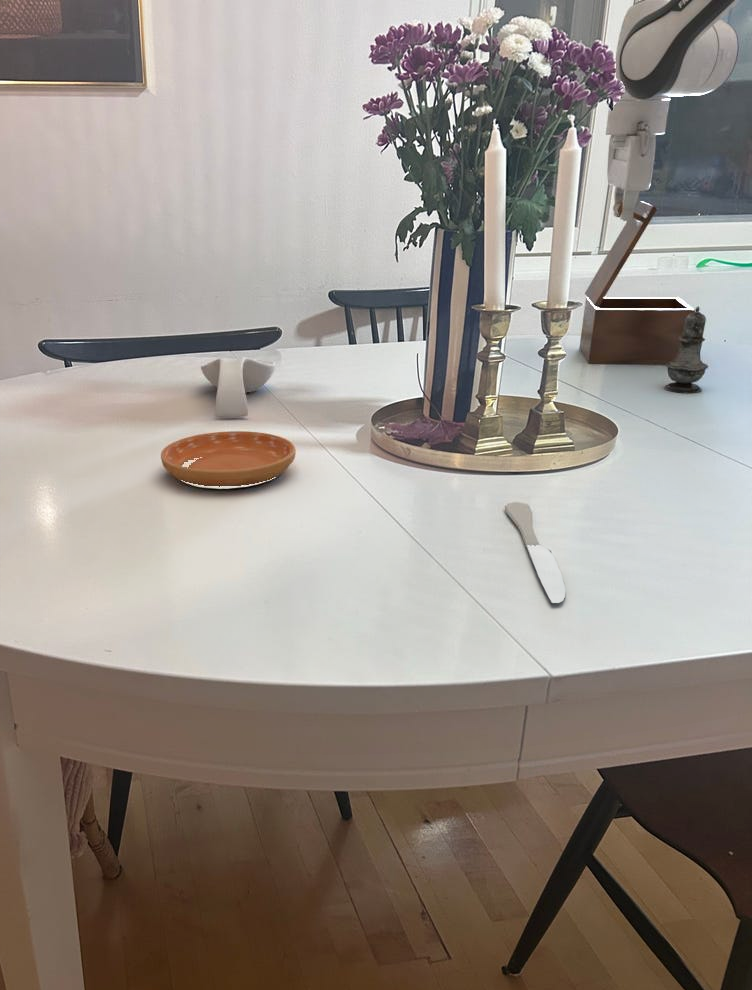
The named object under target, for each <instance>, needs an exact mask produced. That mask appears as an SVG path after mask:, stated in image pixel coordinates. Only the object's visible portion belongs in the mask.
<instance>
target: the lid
mask: <svg viewBox="0 0 752 990" xmlns="http://www.w3.org/2000/svg"><path fill="white" fill-rule="evenodd" d="M622 206H623V202H620V201H619V202H616V203H615V202H614V204H613V207H612V210H613V213H614V212H615V213H617V214H619V215H621V208H622ZM657 210H659V207H657V206H654V205H652V204H650V203H647V202H645V201H642V200H638V201H637V203H636V206H635V209H634V216H633V219H632V220H631V221H625V224H624V226H623V227H622V229H621V231H620V232H619V234H618V236H617V237H616V239H615V241H614V243H613V245H612V246H611V248H610V249H609V251H608V253H607V255H606V256H605V258H604V259H603V262H602V263H601V265H600V266H599V268H598V270H597V272H596V273H595V275H594V277H593V278H592V280H591V281H590V283H589V285H588V287H587V289H586V290H585V293H584V295H585V296H586V297H588V298H589V300H590V301H591V302H592V303H593V305H594V306H596V307H599V305H600V304H601V302H602V300H603V299H604V297H606V295H607V294H608V292H609V290H610V289H611V287H612V286H613V284H614V282H615V280H616V279H617V278H618V276H619V274H620V272H621V270H622V268H623V267H624V265H625V264H626V263H627V261H628V258H630V256H631V254H632V252H633V250H634V249H635V247H636V246H637V244H638V243H639V241H640V240H641V237H642V235H643V234H644V232H645V231H646V229H647V227H648V226H649V224H650V223H651V220H652V219H653V218H654V216H655V214H656V212H657Z"/></svg>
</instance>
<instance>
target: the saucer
mask: <svg viewBox="0 0 752 990" xmlns="http://www.w3.org/2000/svg"><path fill="white" fill-rule="evenodd" d="M296 452H297V448H296V446H295V444H294V443H293V442H292V441H290V440H288V438H285V437H282V436H280V435H275V434H271V433H266V432H260V431H259V432H258V431H249V430H247V431H246V430H245V431H244V430H243V431H241V430H233V431H230V430H228V431H216V432H206V433H201V434H200V433H199V434H196V435H191V436H188V437H187V436H186V437H184V438H181V439H178V440H175V441H173V442H172V443H169V444H168V445H166V446H165V447H164V448H163V449H162V451H161V453H160V459H161V464H162V466H163V468H164V469H165V470H166V471H168V473H169V474H170V475H171V476H174V477H175V478H176V477H177V478H178V479H180V480H183V481H185V482H189V483H193V484H198V485H204V486H219V487H220V486H241V485H249V484H255V483H259V482H263V481H267V480H270V479H272V478H274V477H277V476H278V477H280V476H281V474H282V473H284V472H285V471H286V470H287V469H288V468H289V467H290V465H292V463H294V461H295V458H296V454H297V453H296ZM200 457H202V458H200ZM194 458H199V459H197V460H196V459H195V460H196V461H195V462H193V463H191V465H189V467H188V468H187V467H182V465H183V464H184V462H188V460H194ZM278 477H277V478H278ZM177 478H176V479H177ZM178 479H177V480H178ZM180 480H179V481H180Z"/></svg>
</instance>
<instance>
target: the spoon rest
mask: <svg viewBox="0 0 752 990" xmlns="http://www.w3.org/2000/svg"><path fill="white" fill-rule="evenodd" d="M276 366H277V365H276V363H275V362H273V361H269V360H263V359H262V360H261V359H253V358H250V357H246V356H243V357H240V358H239V357H238V358H236V359H226V358H223V357H221V358H220V357H219V358H216V359H214V360H212V361H211V362H207V363H204V364H201V366H200V370H201V373H202V374H203V376H204V377H205V379H207V381H209V382H210V383H211V384H212V385H213V386H214V387H216V388H217V390H216V395H215V396H216V398H215V406H214V414H215V417H218V418H240V417H247V416H249V405H248V400H247V394H248V393H247V392H249V393H253V392H256V391H257V390H259V388H261V387H262V386H263V385H265V384H266V383H267V382H268V381H269V380H270V379H271V377H272V376H273V374H274V372H275V369H276ZM255 390H256V391H255ZM252 391H253V392H252Z"/></svg>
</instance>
